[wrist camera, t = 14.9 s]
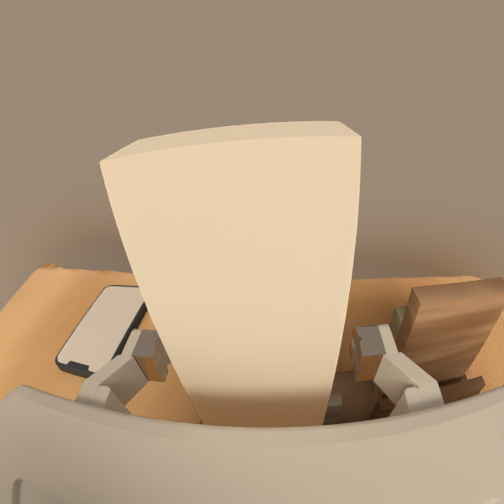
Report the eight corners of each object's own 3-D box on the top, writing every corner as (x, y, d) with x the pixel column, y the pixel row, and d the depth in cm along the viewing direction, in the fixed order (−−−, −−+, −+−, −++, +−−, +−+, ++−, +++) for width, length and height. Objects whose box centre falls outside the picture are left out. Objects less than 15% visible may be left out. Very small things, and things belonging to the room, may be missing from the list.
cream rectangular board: (309, 468, 17) (360, 136, 6) (230, 467, 18) (99, 161, 6) (309, 441, 19) (339, 121, 8) (233, 441, 20) (138, 139, 8)
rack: (486, 473, 13) (525, 446, 10) (190, 512, 15) (164, 501, 12) (451, 363, 24) (473, 323, 21) (212, 383, 27) (198, 345, 24)
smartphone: (109, 292, 42) (56, 370, 28) (105, 283, 41) (50, 362, 27) (158, 295, 40) (111, 386, 27) (155, 286, 39) (104, 378, 26)
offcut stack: (453, 389, 20) (511, 290, 14) (377, 405, 21) (420, 304, 15) (444, 365, 23) (492, 265, 16) (371, 377, 24) (404, 272, 17)
